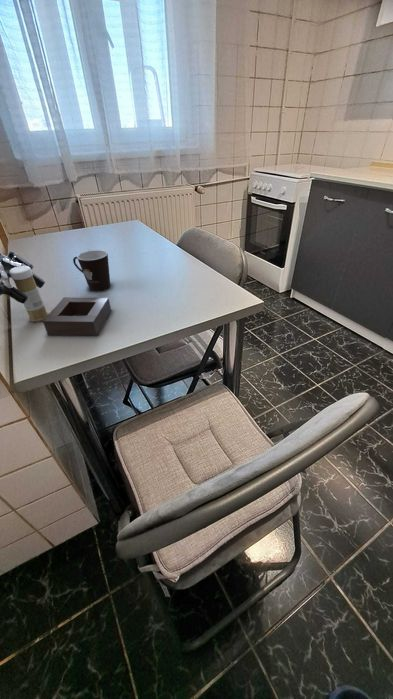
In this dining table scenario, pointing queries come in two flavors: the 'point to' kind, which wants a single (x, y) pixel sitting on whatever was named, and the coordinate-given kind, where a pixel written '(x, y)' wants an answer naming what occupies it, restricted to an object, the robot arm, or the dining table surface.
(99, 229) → the dining table surface
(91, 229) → the dining table surface
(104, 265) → the coffee mug
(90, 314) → the bottle rack
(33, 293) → the sprinkles bottle
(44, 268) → the dining table surface
